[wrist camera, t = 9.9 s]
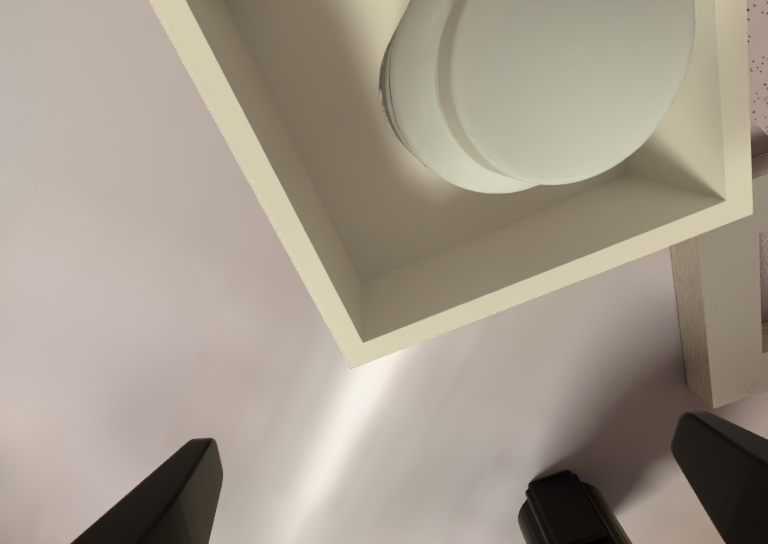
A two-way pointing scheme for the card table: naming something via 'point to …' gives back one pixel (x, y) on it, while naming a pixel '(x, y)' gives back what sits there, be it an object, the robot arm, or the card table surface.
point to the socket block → (725, 303)
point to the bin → (428, 191)
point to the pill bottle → (532, 85)
